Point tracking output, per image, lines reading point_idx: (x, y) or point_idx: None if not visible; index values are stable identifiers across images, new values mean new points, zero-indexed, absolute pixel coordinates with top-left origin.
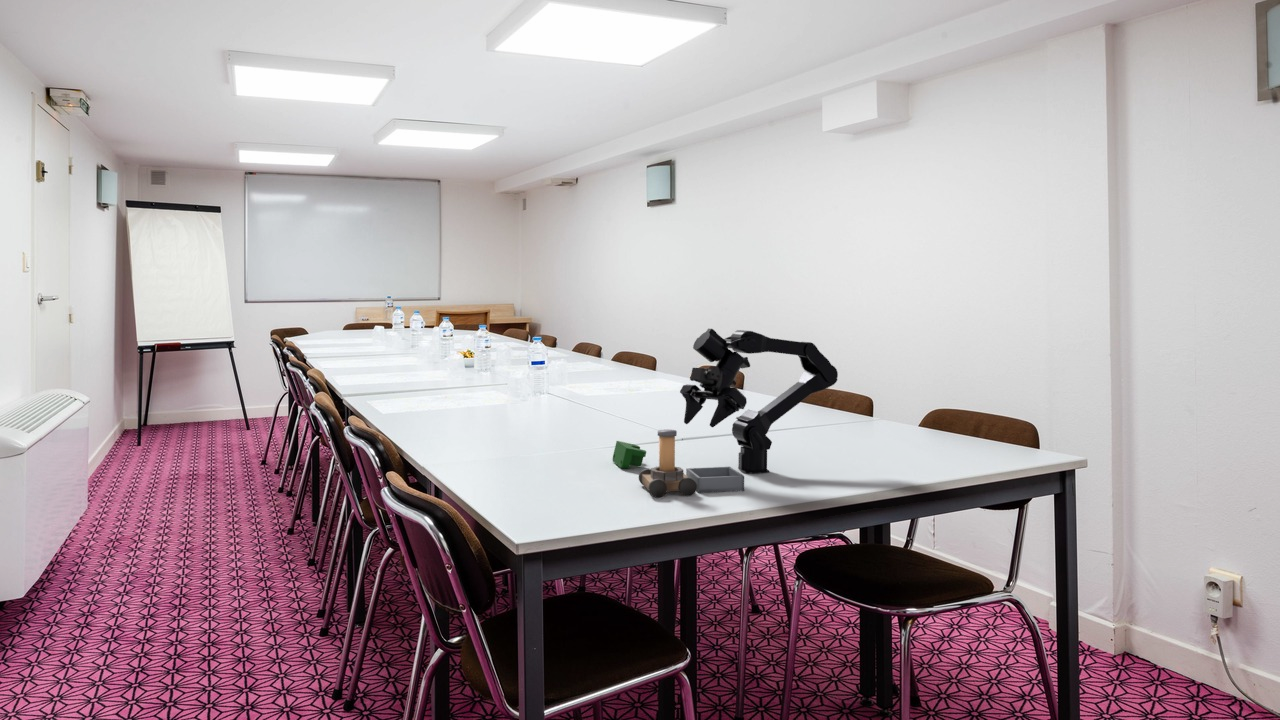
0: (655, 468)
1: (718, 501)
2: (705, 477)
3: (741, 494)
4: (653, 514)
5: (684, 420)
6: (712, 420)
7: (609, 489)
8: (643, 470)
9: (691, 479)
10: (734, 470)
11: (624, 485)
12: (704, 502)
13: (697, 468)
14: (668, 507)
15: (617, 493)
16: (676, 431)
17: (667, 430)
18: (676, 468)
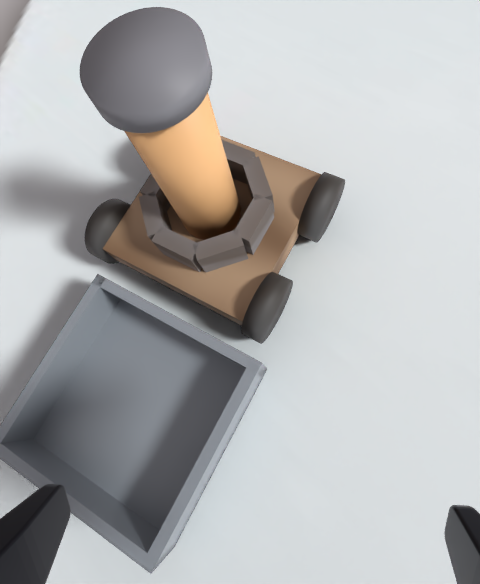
0: (246, 169)
1: (16, 268)
2: (86, 302)
3: (10, 393)
4: (63, 66)
5: (476, 517)
6: (6, 521)
7: (355, 104)
8: (328, 178)
9: (88, 225)
10: (79, 511)
11: (375, 167)
12: (40, 229)
13: (227, 403)
14: (78, 125)
15: (293, 98)
16: (89, 97)
17: (152, 68)
18: (198, 242)
